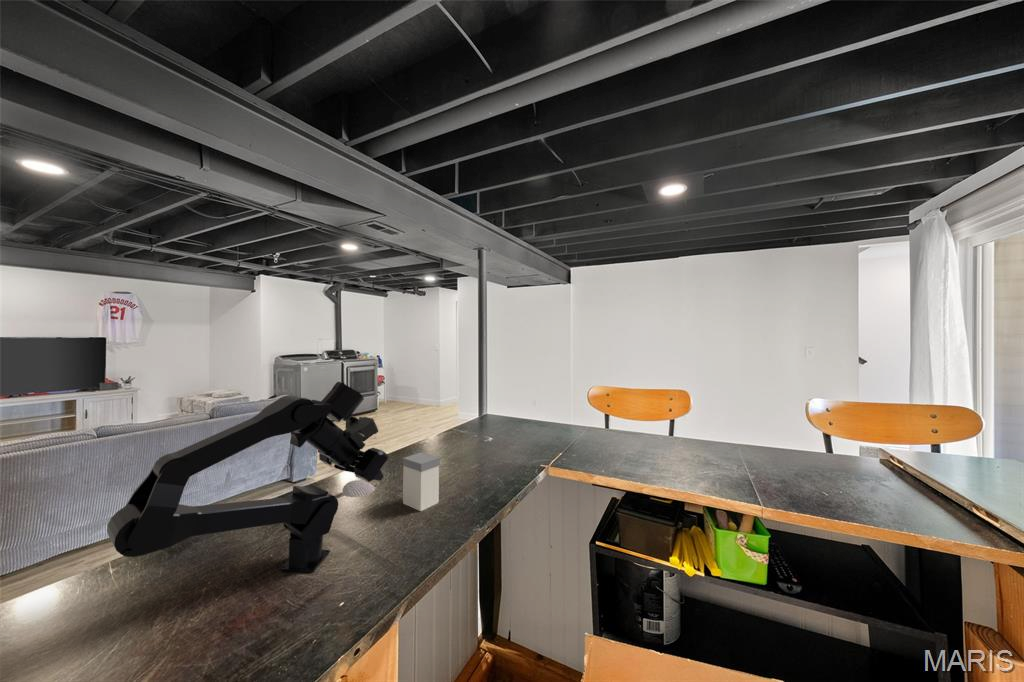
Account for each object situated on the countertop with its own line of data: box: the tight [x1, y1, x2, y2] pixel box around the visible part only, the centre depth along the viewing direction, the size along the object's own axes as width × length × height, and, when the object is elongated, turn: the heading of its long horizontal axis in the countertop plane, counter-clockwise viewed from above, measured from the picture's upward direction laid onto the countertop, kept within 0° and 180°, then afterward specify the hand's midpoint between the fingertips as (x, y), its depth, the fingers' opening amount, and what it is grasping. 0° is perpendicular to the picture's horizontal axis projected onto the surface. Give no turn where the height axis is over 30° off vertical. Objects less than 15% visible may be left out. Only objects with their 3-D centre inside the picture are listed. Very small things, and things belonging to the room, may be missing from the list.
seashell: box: [340, 479, 376, 498], centre depth 104 cm, size 10×6×10 cm
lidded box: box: [402, 451, 441, 512], centre depth 96 cm, size 6×7×12 cm
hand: (375, 475), depth 85 cm, fingers open, 5 cm apart
